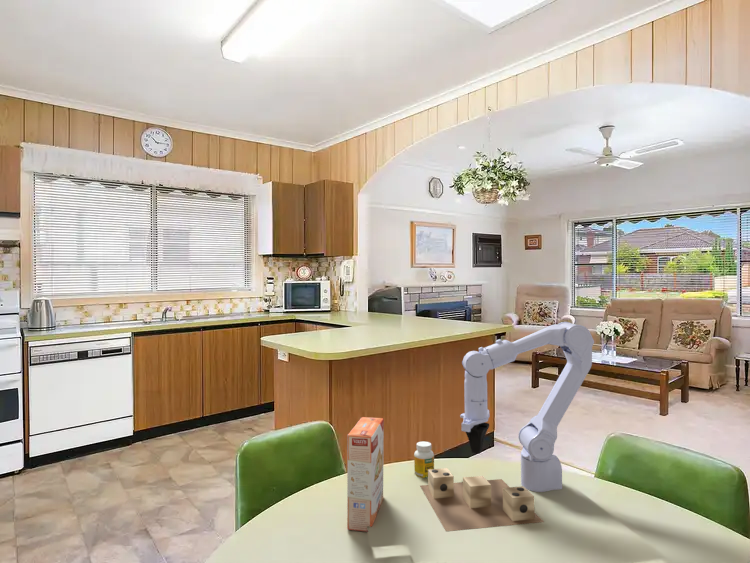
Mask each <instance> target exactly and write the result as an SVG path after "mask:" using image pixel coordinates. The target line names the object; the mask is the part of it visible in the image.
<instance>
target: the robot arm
mask: <svg viewBox="0 0 750 563" xmlns="http://www.w3.org/2000/svg"><path fill="white" fill-rule="evenodd" d="M594 344H595V340H594V338H593V336H592V333H591V331H590V330H589V329H588V328H587V327H586V326H584V325H582V324H575V323H572V322H569V321H562V322H559V323H558V324H556V323H555V324H551V325H548V326H546V327H544V328H542V329H539V330H537V331H535V332H533V333H531V334H528V335H526V336H524V337H521V338H519V339H516V340H515V341H510V340H508V339H503V340H502V339H501V338H499V339H497V340H495V342H494V343H493V344H490V345H488V346H485V347H483V346H481V347H478V351H477V350H471V351H468V352H467V353H466V354H465V355H464V356H463V359H462V361H461V364H462V367H463V369H464V381H463V382H464V384H463V385H464V386H463V387H464V389H463V390H464V397H463V398H464V412H463V413H461V414H460V415H459V417H460V418H461V419H463V421H462V422H461V424H460V425H461V432H465V434H466V437H467V439H468V441H469V442H468V443H469V445H470V446H469V447H470V450H471V451H470V452H471V453H473V454H478V455H479V454H481V453H482V451H483V446H484V440H485V438H486V435H487V431H488V430H489V428H490V423H489V422H488V421H489V418H490V416H491V415H490V409H488V381H487V378H488V377H487V375H488V373H489V371H490V370H491V371H492V370H494V369H497V368H501V367H502V366H504V365H508V364H509V363H513V362H515V361H516V359H517V357H518V355H520V354H523V353H525V352H528V351H531V350H534V349H537V348H540V347H543V346H547V345H552V346H558V347H560V348H561V350H562V352H563V354H564V357H565V359H566V364H565V366H564V368H563V369H562V370H561V373H560V375H559V376H558V378H557V379H556V381H555V383H554V385H553V387H552V389H551V390H550V392H549V394H548V395H547V398H545V400H544V403H543V404H542V406H541V408H540V410H539V411H538V413H537V414H536V415H535V416H532V417H531V418H530V420H529V421H528V422H527V423H526V424H525V425H524V426H522V427H521V428H520V430H519V432H518V441H519V443H520V444H521V446H522V450H521V451H520V485H521V486H524V487H525V488H526V489H527V490H528V491H532V492H537V493H545V492H549V491H556V490H563V467H562V464H561V460H560V459H559V458H558V456H557V455H556V454H554V451H555V443H556V441H557V439H558V427H559V425H560V422H561V421H562V419H563V418H564V415H565V414H566V412H567V410H568V409H569V407H570V405H571V404H572V402H573V400H574V398H575V396H576V394H577V393H578V391H579V389H580V388H581V386H582V384H583V383H584V380H585V379H586V377H587V375H588V374H589V372H590V371H591V368H592V365H593V346H594Z"/></svg>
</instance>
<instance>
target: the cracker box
mask: <svg viewBox="0 0 750 563" xmlns="http://www.w3.org/2000/svg"><path fill="white" fill-rule="evenodd" d="M384 423H385V421H384V418H383V417H369V416H368V417H367V416H366V417H365V416H362V417H360V418H359V420H358V421H357V423H356V424H355V426H353V428H352V429H351V430H350V432H349V433H348V434H347V445H346V446H347V469H346V470H347V476H346V477H347V480H346V481H347V482H346V484H347V485H346V486H347V492H346V493H347V494H346V496H347V502H346V503H347V504H346V505H347V506H346V508H347V513H346V514H347V516H346V517H347V518H346V520H347V522H346V524H347V525H346V526H347V527H346V528H347V530H348V531H357V532H366V533H367V532H369V530H368V527H373V525H374V522H375V520H376V518H377V516H378V512H379V510H380V508H381V505H382V503H383V501H384V500H383V499H384V439H385V438H384V435H385V434H384Z"/></svg>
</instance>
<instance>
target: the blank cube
mask: <svg viewBox="0 0 750 563" xmlns="http://www.w3.org/2000/svg"><path fill="white" fill-rule="evenodd" d="M487 480H488V479H486V477H485V476H484V475H476V476H465V477H464V476H463V477H462V482H463V499H464V500H465V501H466V503H467V504H468V506H469V507H470V508H479V507H490V506H491V484H490V483H489V482H488V481H487Z"/></svg>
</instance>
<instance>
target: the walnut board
mask: <svg viewBox="0 0 750 563" xmlns="http://www.w3.org/2000/svg"><path fill="white" fill-rule="evenodd" d="M486 480H487V481H488V482H489V483H490V484H491V506H490V507H479V508H470V507H469V506H468V504H467V503H466V501H465V500H464V499H463V481H460V482H454V497H447V498H435V499H434V498H433V497H432V495H431V493H430V492H429V490H428V484H422V485H419V486H420V489H421V490H422V492H423V494H424V496H425V497H426V499H427V500H428V502H429V504H430V506H431V508H432V510H433V512H434V513H435V515H436V517H437V519H438V520H439V522H440V524H441V525H442V528H443V529H444V531H445V532H453V531H464V530H466V531H467V530H476V529H487V528H497V527H507V526H519V525H520V526H521V525H529V524H539V523H545V521H544V520H543V519H542V518H541V517H540V516H539V515H538V514H537V513H536V512H535V511H534V519H529V520H519V521H512V520H511V518H510V517H509V516H508V515H507V514H506V513H505V512H504V510H503V488H509V487H510V486H509V485H508V484H507V483H506V482H505V481H504V480H503V479H502V478H501V479H500V478H498V479H497V478H496V479H486Z"/></svg>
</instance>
